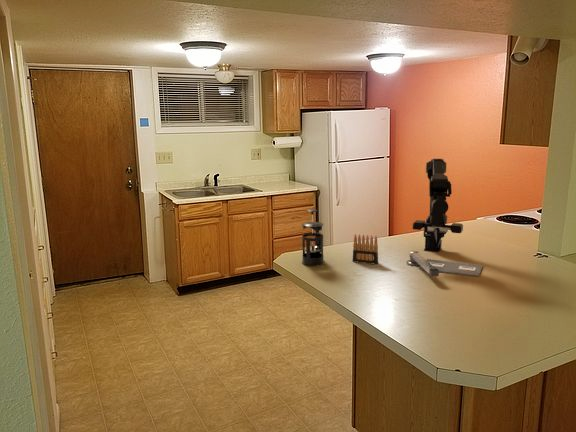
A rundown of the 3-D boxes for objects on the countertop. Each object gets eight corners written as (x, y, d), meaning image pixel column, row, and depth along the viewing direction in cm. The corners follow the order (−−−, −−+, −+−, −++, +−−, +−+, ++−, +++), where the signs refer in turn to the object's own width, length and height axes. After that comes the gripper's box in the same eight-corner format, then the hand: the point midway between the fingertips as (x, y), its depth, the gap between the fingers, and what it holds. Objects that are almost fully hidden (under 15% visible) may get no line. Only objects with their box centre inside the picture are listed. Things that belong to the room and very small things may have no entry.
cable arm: (408, 255, 197) (408, 250, 196) (416, 255, 197) (417, 250, 196) (430, 276, 171) (430, 270, 170) (439, 276, 171) (440, 270, 171)
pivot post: (404, 264, 194) (404, 258, 194) (408, 260, 199) (408, 254, 199) (419, 266, 191) (419, 260, 191) (422, 262, 197) (422, 256, 196)
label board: (419, 269, 188) (419, 267, 187) (427, 260, 200) (427, 258, 199) (478, 277, 177) (478, 275, 177) (482, 266, 190) (482, 264, 189)
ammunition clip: (352, 261, 200) (352, 234, 198) (353, 260, 202) (353, 233, 200) (377, 264, 196) (377, 236, 193) (378, 262, 198) (378, 235, 195)
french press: (317, 267, 193) (317, 213, 188) (297, 264, 198) (296, 211, 193) (329, 259, 203) (328, 207, 198) (309, 257, 208) (308, 206, 203)
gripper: (466, 207, 189) (463, 244, 192) (419, 204, 198) (417, 240, 201) (462, 212, 179) (459, 251, 183) (412, 209, 188) (411, 246, 191)
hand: (436, 247), depth 190 cm, fingers closed
